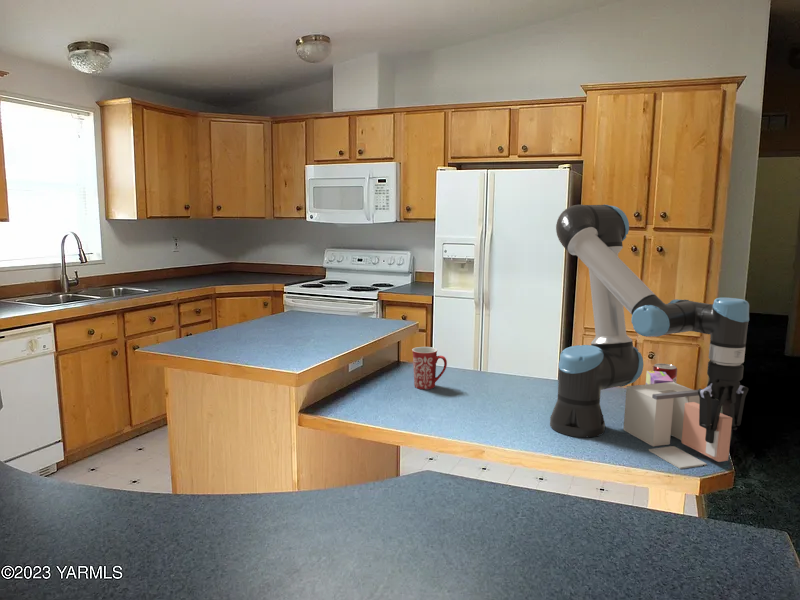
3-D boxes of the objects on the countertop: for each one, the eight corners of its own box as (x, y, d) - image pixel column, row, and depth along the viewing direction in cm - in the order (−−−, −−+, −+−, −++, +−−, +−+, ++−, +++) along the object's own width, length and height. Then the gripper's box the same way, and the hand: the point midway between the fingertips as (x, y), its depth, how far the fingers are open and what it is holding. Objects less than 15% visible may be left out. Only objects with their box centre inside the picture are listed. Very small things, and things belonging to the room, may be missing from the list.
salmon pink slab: (718, 461, 139) (722, 418, 137) (681, 442, 150) (684, 403, 148) (728, 460, 139) (732, 417, 138) (690, 441, 151) (694, 401, 149)
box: (670, 418, 172) (674, 380, 170) (650, 417, 173) (653, 379, 171) (662, 407, 182) (665, 371, 180) (643, 405, 183) (646, 370, 181)
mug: (407, 388, 199) (407, 350, 197) (417, 381, 207) (418, 345, 205) (440, 393, 194) (441, 355, 192) (450, 386, 202) (451, 349, 200)
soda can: (669, 398, 191) (672, 363, 189) (677, 405, 184) (681, 369, 182) (647, 397, 192) (650, 362, 190) (654, 404, 184) (657, 368, 183)
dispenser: (652, 446, 151) (656, 396, 149) (623, 429, 163) (626, 382, 160) (701, 440, 156) (706, 391, 153) (669, 424, 167) (673, 378, 165)
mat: (679, 468, 138) (680, 467, 138) (648, 450, 148) (648, 449, 148) (706, 465, 140) (706, 463, 140) (673, 447, 151) (673, 446, 151)
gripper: (711, 368, 131) (702, 463, 135) (765, 363, 136) (755, 456, 139) (687, 360, 139) (679, 451, 142) (739, 356, 143) (730, 444, 147)
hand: (717, 453), depth 141 cm, fingers closed on salmon pink slab, 3 cm apart
